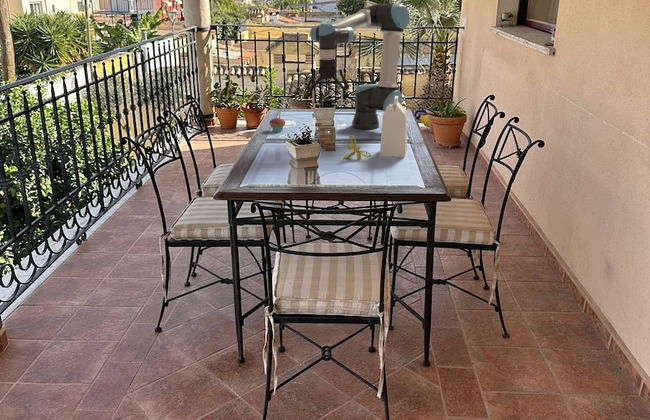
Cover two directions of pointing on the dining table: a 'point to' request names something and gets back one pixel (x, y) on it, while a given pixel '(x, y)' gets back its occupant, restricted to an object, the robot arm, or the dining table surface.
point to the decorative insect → (355, 150)
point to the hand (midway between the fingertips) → (327, 104)
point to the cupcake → (277, 123)
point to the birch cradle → (327, 133)
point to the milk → (394, 130)
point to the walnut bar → (327, 144)
